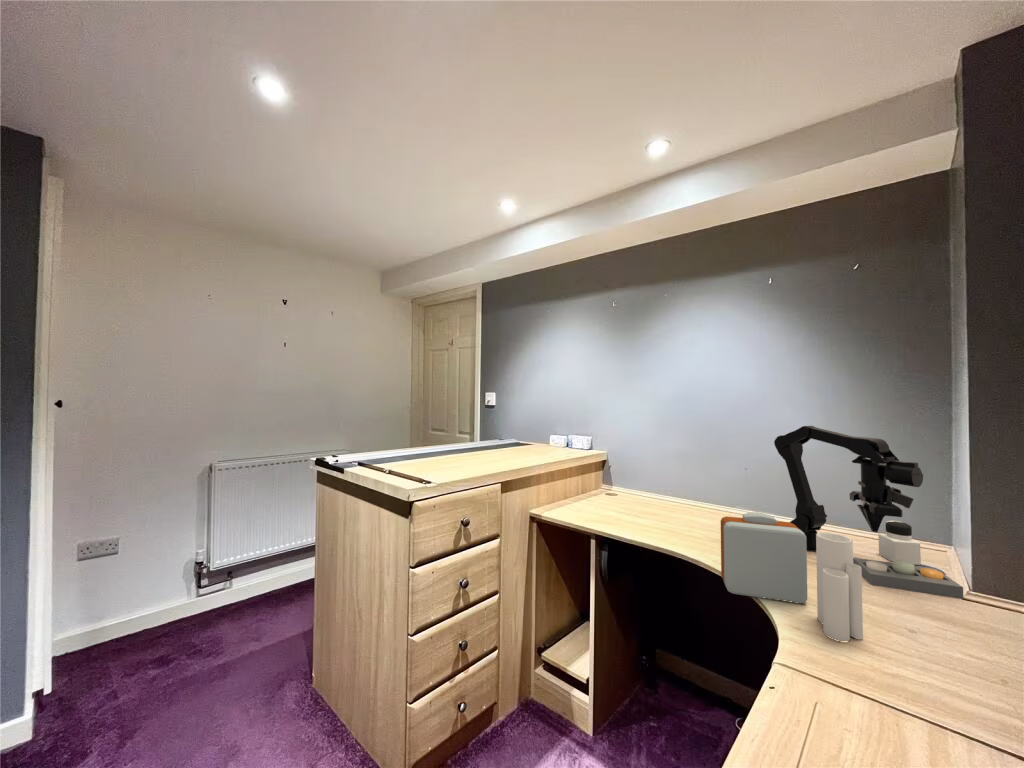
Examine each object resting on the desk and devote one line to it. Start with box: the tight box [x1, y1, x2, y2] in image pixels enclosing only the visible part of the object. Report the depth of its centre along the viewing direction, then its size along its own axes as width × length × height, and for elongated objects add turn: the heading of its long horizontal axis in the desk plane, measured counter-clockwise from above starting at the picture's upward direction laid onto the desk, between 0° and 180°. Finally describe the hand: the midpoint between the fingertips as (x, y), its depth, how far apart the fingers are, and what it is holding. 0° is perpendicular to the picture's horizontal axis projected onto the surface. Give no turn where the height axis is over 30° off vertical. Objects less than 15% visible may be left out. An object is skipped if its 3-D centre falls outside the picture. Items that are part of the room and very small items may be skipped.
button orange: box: [920, 567, 944, 580], centre depth 109 cm, size 4×4×3 cm
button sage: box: [892, 560, 915, 576], centre depth 111 cm, size 4×4×3 cm
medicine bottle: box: [877, 520, 922, 566], centre depth 126 cm, size 7×7×12 cm
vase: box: [815, 532, 864, 642], centre depth 89 cm, size 11×7×20 cm, turn 153°
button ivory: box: [866, 560, 887, 572], centre depth 114 cm, size 4×4×3 cm
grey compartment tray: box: [853, 557, 964, 599], centre depth 111 cm, size 19×12×3 cm, turn 67°
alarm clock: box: [720, 511, 808, 604], centre depth 106 cm, size 18×9×21 cm, turn 71°
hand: (874, 531), depth 118 cm, fingers closed
